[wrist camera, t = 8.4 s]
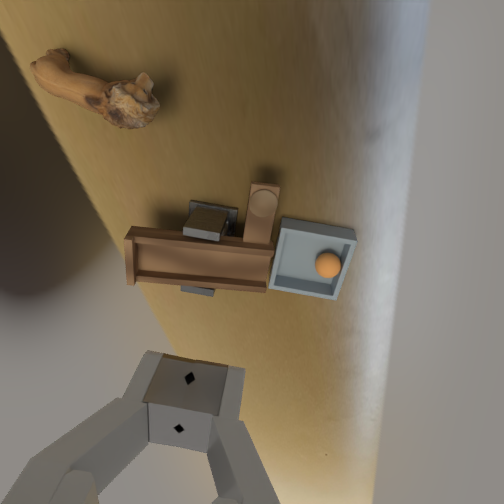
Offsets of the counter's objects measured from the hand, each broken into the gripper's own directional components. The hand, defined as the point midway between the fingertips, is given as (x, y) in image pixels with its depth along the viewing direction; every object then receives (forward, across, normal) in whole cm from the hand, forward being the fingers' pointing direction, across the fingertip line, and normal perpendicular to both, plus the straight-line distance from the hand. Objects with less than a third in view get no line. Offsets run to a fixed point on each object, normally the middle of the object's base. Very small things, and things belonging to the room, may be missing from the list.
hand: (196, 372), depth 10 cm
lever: (+26, +5, +9) cm, 28 cm away
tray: (+31, -8, +13) cm, 35 cm away
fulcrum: (+31, +5, +13) cm, 34 cm away
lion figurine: (+31, +17, -3) cm, 36 cm away
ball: (+29, -10, +13) cm, 33 cm away
